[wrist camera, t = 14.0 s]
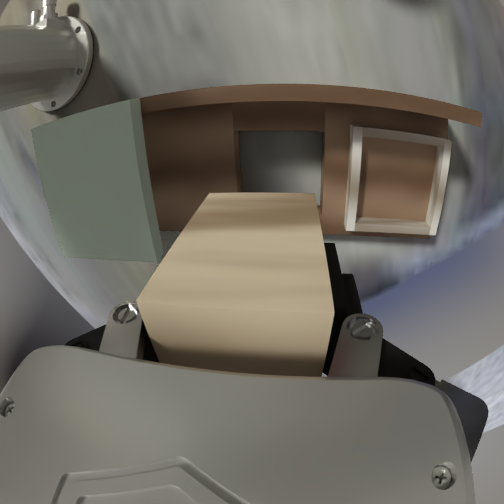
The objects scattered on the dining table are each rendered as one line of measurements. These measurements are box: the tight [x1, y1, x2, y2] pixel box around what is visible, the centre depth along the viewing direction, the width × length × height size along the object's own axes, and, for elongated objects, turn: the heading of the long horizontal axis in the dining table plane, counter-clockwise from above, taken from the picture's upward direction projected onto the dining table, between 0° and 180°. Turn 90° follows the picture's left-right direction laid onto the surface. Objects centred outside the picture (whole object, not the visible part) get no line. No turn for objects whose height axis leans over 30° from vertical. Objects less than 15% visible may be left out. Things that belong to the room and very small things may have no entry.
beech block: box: [136, 193, 335, 377], centre depth 12 cm, size 5×5×8 cm
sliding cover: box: [31, 98, 164, 262], centre depth 21 cm, size 13×11×2 cm
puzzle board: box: [140, 84, 482, 239], centre depth 24 cm, size 14×34×8 cm, turn 93°
